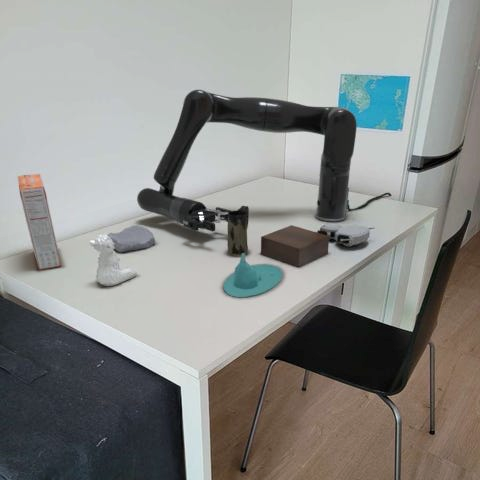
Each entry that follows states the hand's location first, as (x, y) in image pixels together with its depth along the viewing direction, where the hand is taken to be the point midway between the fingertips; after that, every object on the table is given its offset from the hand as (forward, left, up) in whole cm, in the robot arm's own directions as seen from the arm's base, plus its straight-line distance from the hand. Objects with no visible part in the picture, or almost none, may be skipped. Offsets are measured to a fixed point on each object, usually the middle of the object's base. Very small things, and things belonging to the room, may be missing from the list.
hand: (225, 224), depth 133 cm
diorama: (+11, +21, -7) cm, 25 cm away
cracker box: (+40, -28, -7) cm, 49 cm away
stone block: (+18, -19, -7) cm, 27 cm away
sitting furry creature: (+35, -4, -7) cm, 36 cm away
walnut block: (-9, +18, -7) cm, 21 cm away
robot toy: (-26, +22, -7) cm, 34 cm away
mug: (0, +6, -7) cm, 9 cm away
